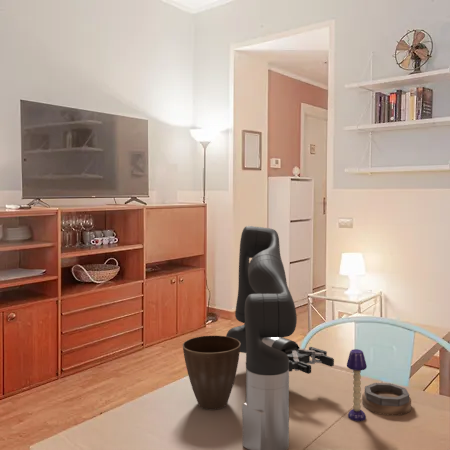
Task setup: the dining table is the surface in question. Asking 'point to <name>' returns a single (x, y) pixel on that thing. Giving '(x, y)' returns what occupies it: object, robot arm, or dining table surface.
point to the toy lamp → (356, 383)
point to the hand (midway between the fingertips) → (321, 366)
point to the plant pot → (212, 368)
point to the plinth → (386, 408)
